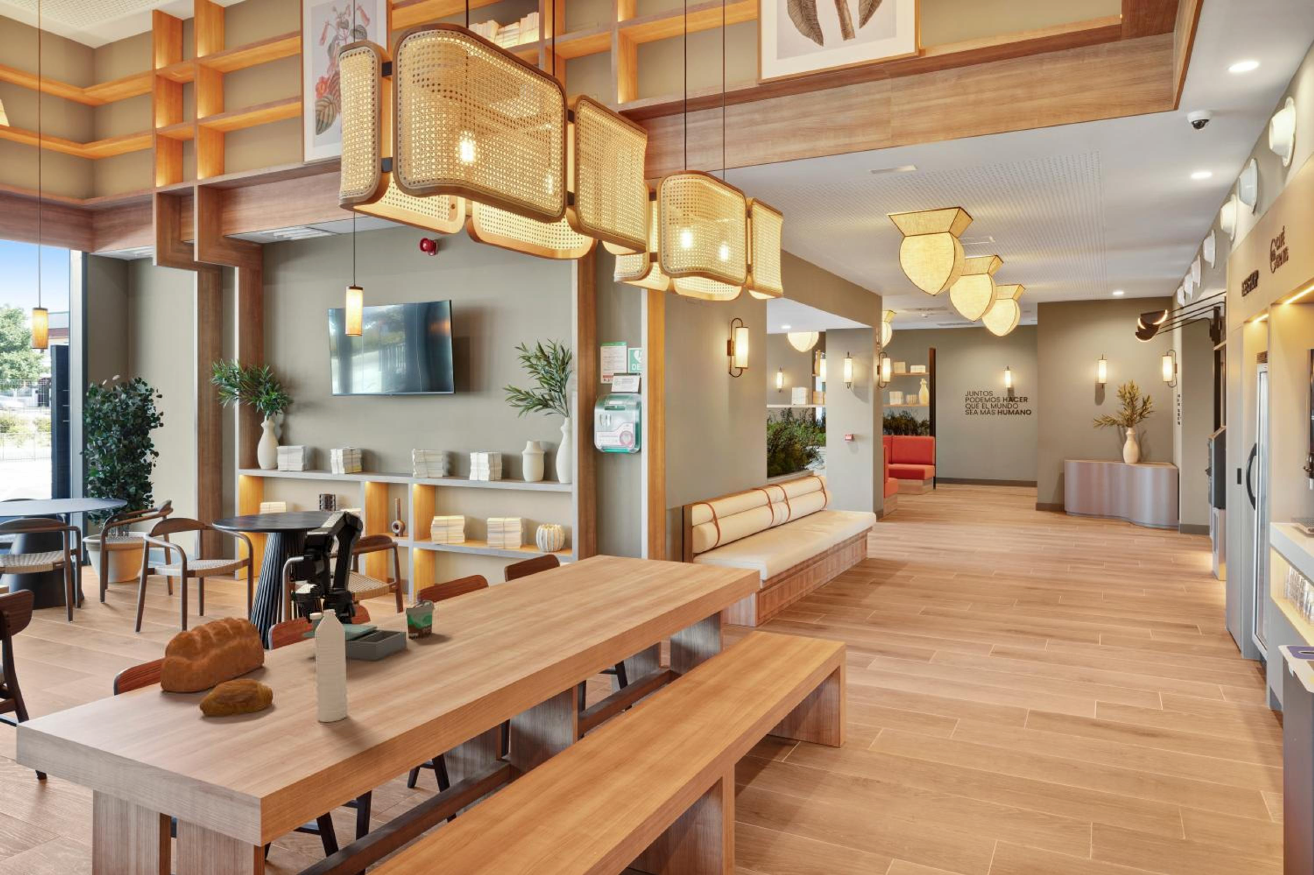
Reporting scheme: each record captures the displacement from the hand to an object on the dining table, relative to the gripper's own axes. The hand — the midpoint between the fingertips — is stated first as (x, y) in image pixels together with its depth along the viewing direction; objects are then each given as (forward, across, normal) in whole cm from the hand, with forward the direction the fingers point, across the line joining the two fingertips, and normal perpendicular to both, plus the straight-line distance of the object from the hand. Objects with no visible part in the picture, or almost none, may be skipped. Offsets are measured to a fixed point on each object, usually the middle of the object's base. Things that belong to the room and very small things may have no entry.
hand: (322, 624), depth 255 cm
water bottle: (+8, +45, -50) cm, 68 cm away
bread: (+8, -8, -32) cm, 34 cm away
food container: (+8, +21, +22) cm, 31 cm away
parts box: (+8, +17, 0) cm, 19 cm away
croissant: (+8, +18, -49) cm, 53 cm away
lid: (+2, +7, 0) cm, 7 cm away
